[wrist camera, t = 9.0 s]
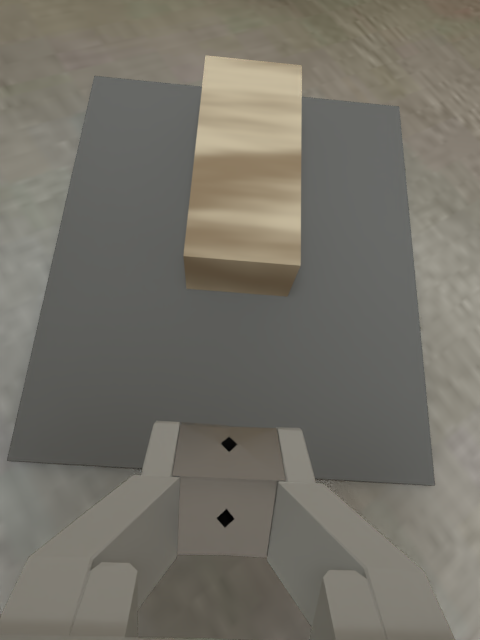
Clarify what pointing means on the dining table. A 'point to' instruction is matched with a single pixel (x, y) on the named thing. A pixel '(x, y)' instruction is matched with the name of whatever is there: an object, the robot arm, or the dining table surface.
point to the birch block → (246, 179)
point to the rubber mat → (229, 301)
